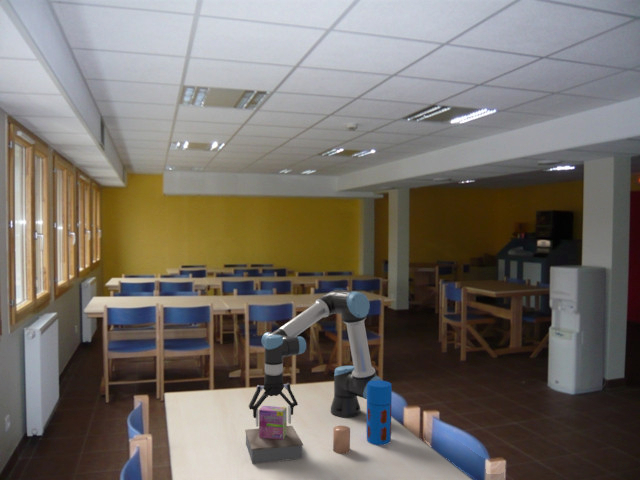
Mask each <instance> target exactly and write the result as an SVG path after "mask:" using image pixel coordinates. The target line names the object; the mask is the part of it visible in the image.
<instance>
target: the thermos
mask: <svg viewBox="0 0 640 480" xmlns="http://www.w3.org/2000/svg"><path fill="white" fill-rule="evenodd" d="M392 388H393V387H392V383H391V382H390V381H386V380H382V381H381V380H374V381H369V382H368V383H367V399H366V432H365V433H366V441H367V442H368V443H370V444H372V445H374V446H375V445H376V446H384V444H386V445H388V444H387V443H389V442H390V443H391V440H392V439H391V437H392V399H393V397H392V396H393V395H392V394H393V393H392V391H393V390H392ZM390 443H389V444H390Z"/></svg>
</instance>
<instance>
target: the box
mask: <svg viewBox="0 0 640 480" xmlns="http://www.w3.org/2000/svg"><path fill="white" fill-rule="evenodd" d="M259 408H260V409H258V429H259V438H269V439H282V440H283V439H284V437H285V436H286V434H287V426H288V425H287V422H288V407H287V406H275V405H262V406H261V407H259Z"/></svg>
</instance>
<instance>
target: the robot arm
mask: <svg viewBox="0 0 640 480" xmlns="http://www.w3.org/2000/svg"><path fill="white" fill-rule="evenodd" d="M370 304H371V303H370V300H369V298H368V297H367V295H366V294H364V293H362V292H359V291H357V290H343V289H334V290H332V291H329V292H327V293H325V294H324V295H322V296H320V297H319V298H317V299H316V300H315V301H314V303H313V304H312V305H311V306H309V307H308V308H306V309H305V310H304V311H302V312H301V313H299V314H298V315H296V316H295V317H293V318H292V319H290V320H289V321H288V322H286V323H284V324H283V325H282V326H279V328H278V329H276V330H274V331H273V332H272V331H266V332H265V333H264V334H263V335H262V337H261V345H262V347H264V383H263V385H260V384H257V385H256V390H255V392H254V394H253V396H252V398H251V400H250V402H249V404H248V408H249V409H250V410H252V417H253V419H255V426H256V428H257V427H258V428H259V408H260V406H261V405H262V404H263V402H264V401H265V400H266V398H268V397H269V396H270V397H277V396H279V395H280V396H281V398H282V399H283V400H284V401H285V402H286V403H287V404H288V406H287V422H288V424H291V423H292V417H291V416H293V415H294V408H295V407H297V406H298V405H299V403H298V402H297V399H296V397H295V395H294V393H293V391H292V389H291V384H290V383H289V382H286V383H284V379H283V378H284V377H283V376H284V374H283V370H284V367H283V365H284V363H283V362H284V358H286V357H291V356H292V357H293V356H298V355H301V354H304V353H305V351H306V350H307V340H306V339H305V338H304V337H303V336H299V335H301V333H303V332H305V331H306V330H307V329H308V328H310V327H311V326H313V325H314V324H315V323H317V322H319V321H320V320H321V319H322V318H327V317H329V316H331V315H333V314H334V315H335V314H338V315H341V320H342V322H343V323H344V324H345V325H346V329H347V336H348V341H349V348H350V352H351V353H350V354H351V360H352V365H342V366H337V367H336V368H335V369H334V375H333V380H334V381H333V382H334V383H333V385H334V386H333V391H334V392H333V393H334V394H333V396H334V397H333V400H332V401H331V405H330V413H331V414H332V415H334V416H337V417H339V418H340V417H342V418H351V417H356V416H359V415H360V414H361V405H360V403H359V399H358V397H359V398H362V399H364V400H367V383H368V382H369V381H374V380H381V381H383V380H382V377H380V376H379V375H377V371H376V368H375V367H373V366H372V361H371V355H370V350H369V349H370V348H369V345H368V344H369V342H368V337H367V331H366V326H365V320H366V319H367V315H368V314H369V312H370V311H369V310H370V307H371V306H370ZM284 389H286V390H287V392H288V394H289V396H290V399H291V400H292V402H291V400H290V399H289V398H288V397H287V396H286V395H285V393H284V392H283V390H284ZM262 390H264V392H263V394H261V396H260V393H261V392H262ZM259 396H260V397H259ZM258 398H259V399H258ZM257 399H258V400H257Z"/></svg>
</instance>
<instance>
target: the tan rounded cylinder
mask: <svg viewBox="0 0 640 480" xmlns="http://www.w3.org/2000/svg"><path fill="white" fill-rule="evenodd" d="M332 432H333V436H332V438H333V441H332V442H333V443H332V444H333V445H332V446H333V447H332V450H333V452H334V453H336V454H340V455H341V454H342V455H343V454H348V453H350V452H351V428H350V427H349V426H346V425H336V426H333V431H332ZM349 451H350V452H349Z"/></svg>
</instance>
